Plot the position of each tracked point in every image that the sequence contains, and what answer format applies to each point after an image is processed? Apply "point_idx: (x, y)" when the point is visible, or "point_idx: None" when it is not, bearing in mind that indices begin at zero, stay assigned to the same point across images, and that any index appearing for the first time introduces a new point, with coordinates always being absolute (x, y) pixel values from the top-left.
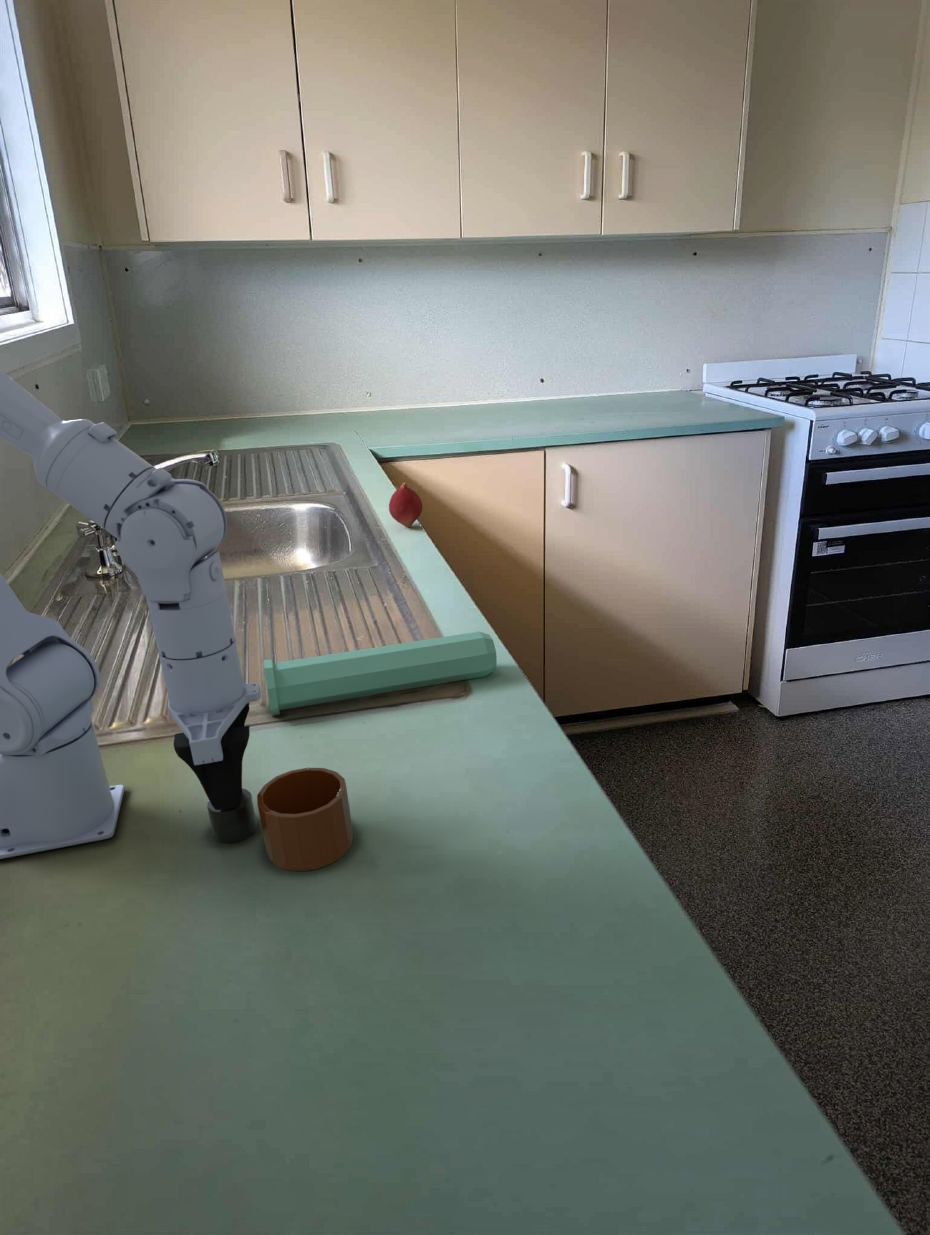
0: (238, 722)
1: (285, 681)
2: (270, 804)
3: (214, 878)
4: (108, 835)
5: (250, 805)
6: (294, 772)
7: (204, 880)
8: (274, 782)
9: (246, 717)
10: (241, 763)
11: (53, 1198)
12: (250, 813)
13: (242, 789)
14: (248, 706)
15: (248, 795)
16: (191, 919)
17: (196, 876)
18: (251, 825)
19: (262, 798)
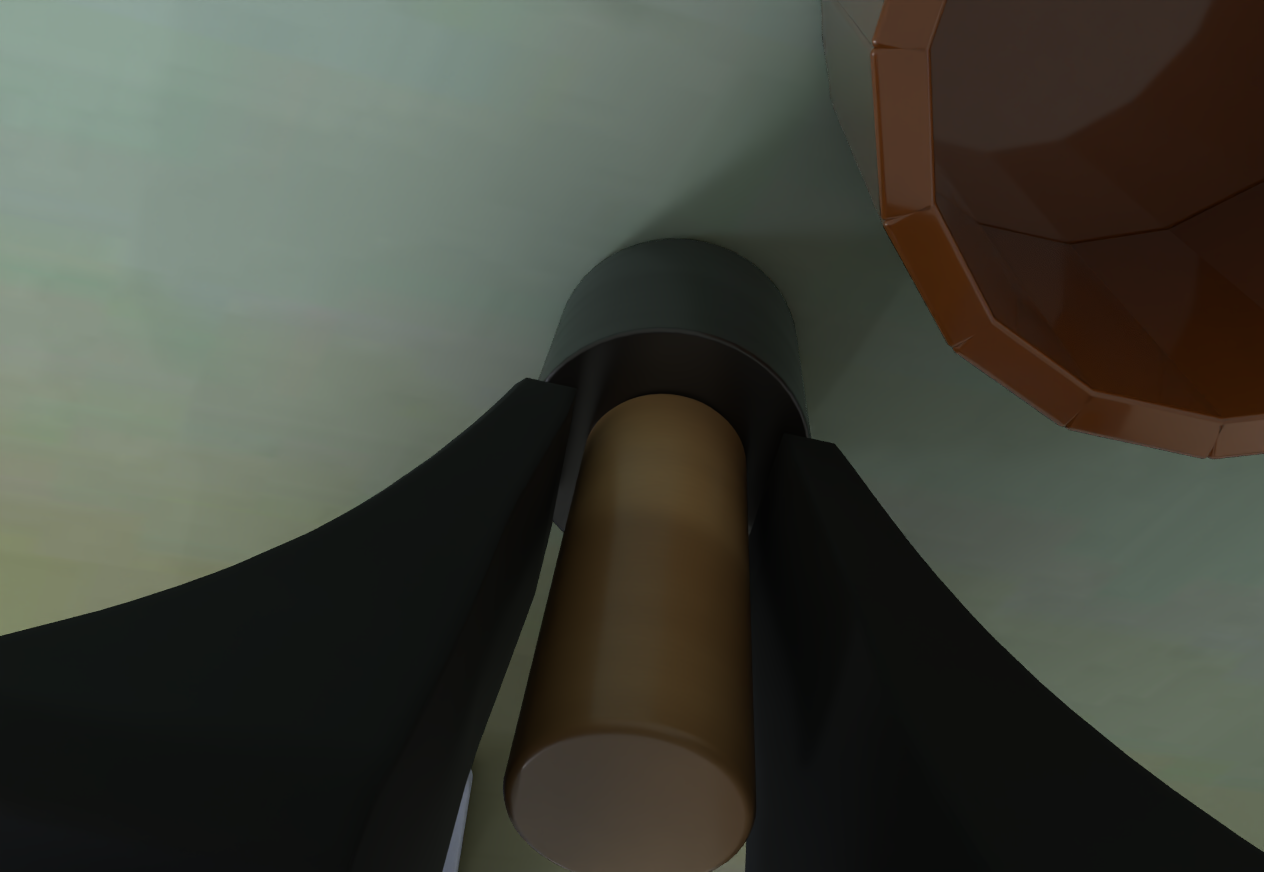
0: (426, 753)
1: None
2: (974, 266)
3: (1013, 510)
4: (469, 780)
5: (758, 340)
6: (938, 23)
7: (995, 545)
8: (957, 251)
9: (419, 717)
10: (1053, 698)
11: None
12: (765, 327)
13: (583, 365)
14: (356, 854)
15: (684, 348)
16: (1218, 629)
17: (939, 565)
18: (774, 303)
19: (1154, 408)
